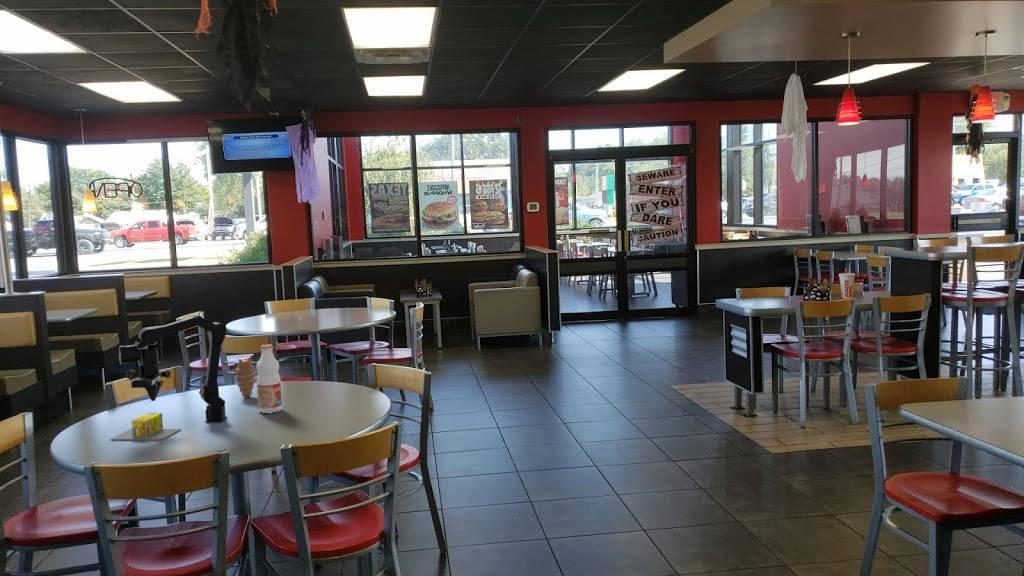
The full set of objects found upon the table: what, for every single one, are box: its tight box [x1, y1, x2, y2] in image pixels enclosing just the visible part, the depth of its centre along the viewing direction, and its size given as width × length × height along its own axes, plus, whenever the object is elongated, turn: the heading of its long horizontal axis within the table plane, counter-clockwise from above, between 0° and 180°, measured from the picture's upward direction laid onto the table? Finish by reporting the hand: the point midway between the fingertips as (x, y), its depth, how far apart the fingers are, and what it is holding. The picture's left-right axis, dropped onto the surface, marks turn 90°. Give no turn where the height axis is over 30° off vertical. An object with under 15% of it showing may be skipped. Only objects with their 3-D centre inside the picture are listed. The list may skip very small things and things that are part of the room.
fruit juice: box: [256, 343, 283, 414], centre depth 317 cm, size 9×9×28 cm
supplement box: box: [131, 412, 164, 436], centre depth 289 cm, size 6×6×11 cm
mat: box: [110, 428, 182, 442], centre depth 287 cm, size 20×13×1 cm, turn 86°
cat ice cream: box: [234, 357, 256, 399], centre depth 342 cm, size 9×8×18 cm
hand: (153, 400), depth 292 cm, fingers closed
